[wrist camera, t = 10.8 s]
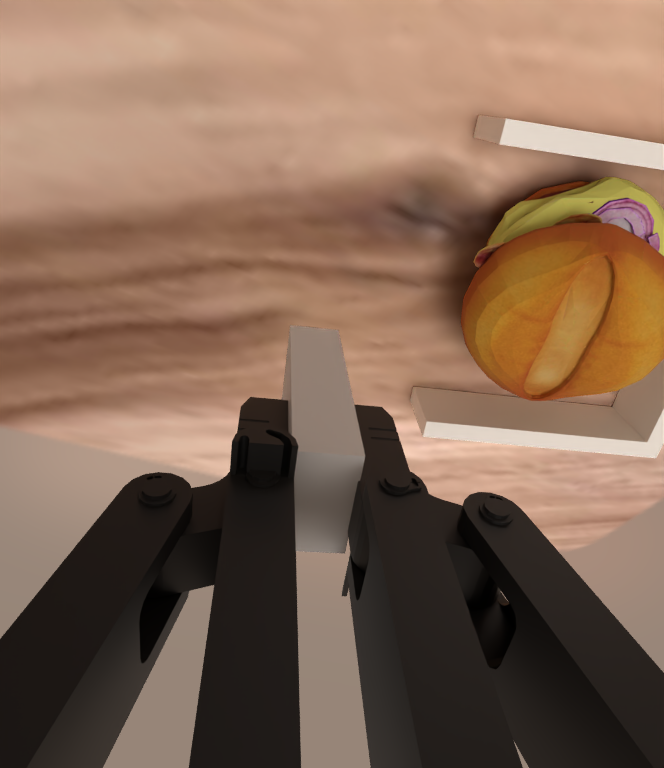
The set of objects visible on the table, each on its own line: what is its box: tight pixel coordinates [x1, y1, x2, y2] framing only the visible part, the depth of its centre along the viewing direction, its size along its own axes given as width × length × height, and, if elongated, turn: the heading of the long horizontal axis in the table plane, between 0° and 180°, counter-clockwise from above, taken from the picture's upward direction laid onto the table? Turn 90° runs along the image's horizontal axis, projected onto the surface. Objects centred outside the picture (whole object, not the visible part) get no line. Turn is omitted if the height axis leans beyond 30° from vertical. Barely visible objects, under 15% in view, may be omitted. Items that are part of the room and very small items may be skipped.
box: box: [410, 115, 664, 458], centre depth 29 cm, size 14×16×4 cm
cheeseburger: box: [461, 177, 664, 401], centre depth 27 cm, size 10×11×10 cm
